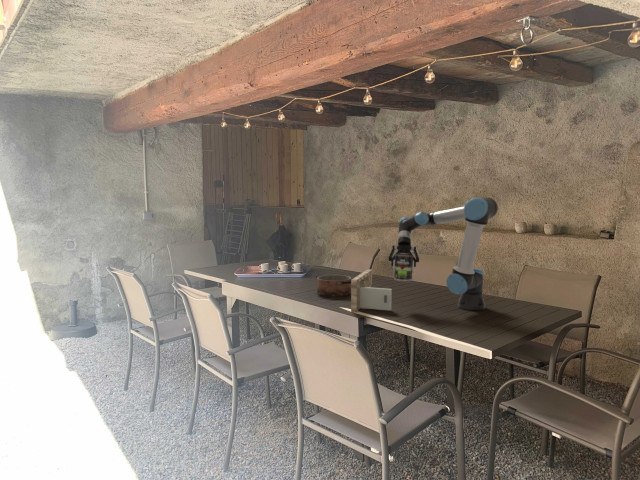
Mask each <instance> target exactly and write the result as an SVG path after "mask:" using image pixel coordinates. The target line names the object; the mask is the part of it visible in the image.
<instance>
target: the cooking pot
mask: <svg viewBox="0 0 640 480" xmlns="http://www.w3.org/2000/svg"><path fill="white" fill-rule="evenodd" d="M316 279H317V280H316V281H317V285H316V286H317V295H319V296H322V297H327V298H328V297H329V298H342V297H348V296H351V280H352V277H351V276H348V275H343V274H320V275H316Z"/></svg>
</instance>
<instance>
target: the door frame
mask: <svg viewBox="0 0 640 480" xmlns="http://www.w3.org/2000/svg"><path fill="white" fill-rule="evenodd" d="M361 281H363V287H370V288H373V270H372V269H366V270H365V271H363V272H361V273H360V274H358V275H357V276H355V277H353V278H351V294H350V297H351V298H350V312H352V313H357V312H358V311H359V310H360V287H361V285H360V283H361Z"/></svg>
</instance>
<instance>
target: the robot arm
mask: <svg viewBox="0 0 640 480" xmlns="http://www.w3.org/2000/svg"><path fill="white" fill-rule="evenodd" d="M498 210H499V206H498V203H497V201H496V200H495V199H494V198H491V197H487V196H486V197H478V196H477V197H473V198H471V199H469V200H467V201H466V203H465V205H464V206H458V207H455V208H454V207H453V208H449V209H445V210H439V211H434V212H428V213H426V212H425V211H419V212H416V213H415V214H414V215H412V216H411V217H408V216H403V217H401V218H400V219H399V221H398V233H397V239H398V240H397V241H398V242H397V246H396V245H392V248H391V251H390V252H389V256H388V261H389V262H390V263H391V267H392V272H393V273H394V272H395V254H410V255H413V254H414V255H413V266H412V274H413V273H414V272H415V268H416V266H417V263H420V257H419V255H418V252H417V246H416V245H415V246H412V245H411V244H412V231H414V230H416V229H417V228H420V227H428V226H431V227H433V226H436V225H440V224H445V223H446V224H447V223H451V222H452V223H453V222H458V221H462V220H464V221H465V222H466V225H465V230H464V235H463V238H462V242H461V247H460V251H459V255H458V260H457V263H456V265H455V266H453V267H452V271H451V274H449V275H448V277H447V279H446V286H447V288H448V291H450V292H451V293H453V294H454V295H459V299H458V301H457V307H458V308H459V309H462V310H467V311H484V310H485V309H486V302H485V299H484V295H483V290H484V270H483V269H481V268H474V264H475V261H476V258H477V253H478V250H479V249H478V248H479V246H480V242H481V237H482V234H483V231H484V227H486V226H488V222H489V219H491V218H493V217H495V216H496V215H497V213H498ZM396 250H397V252H396ZM411 251H412V252H411ZM394 253H395V254H394Z"/></svg>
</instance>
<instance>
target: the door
mask: <svg viewBox="0 0 640 480" xmlns="http://www.w3.org/2000/svg"><path fill="white" fill-rule="evenodd" d="M392 292H393V289H392V288H383V287H381V288H380V287H372V288H370V287H364V286H360V304H359V309H368V310H370V309H371V310H379V311H380V310H382V311H392V302H393V301H392V298H393V297H392Z"/></svg>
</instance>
